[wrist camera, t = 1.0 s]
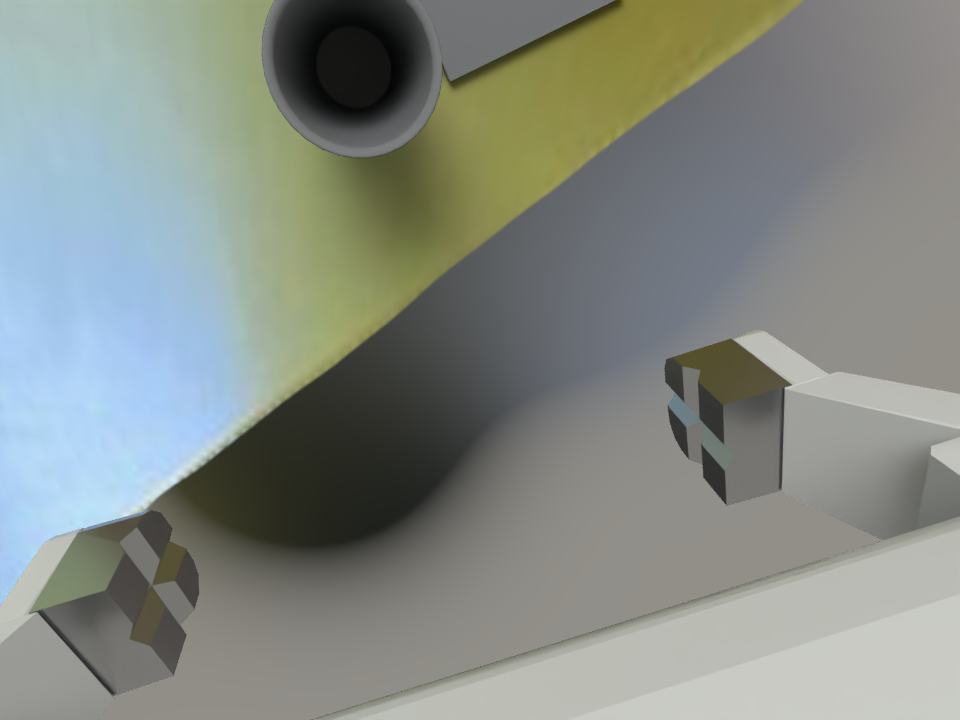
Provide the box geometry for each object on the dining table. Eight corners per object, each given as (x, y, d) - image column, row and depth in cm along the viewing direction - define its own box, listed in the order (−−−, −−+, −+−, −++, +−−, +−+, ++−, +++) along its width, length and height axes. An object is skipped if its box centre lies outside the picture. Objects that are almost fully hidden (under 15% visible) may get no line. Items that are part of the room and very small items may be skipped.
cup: (293, -5, 34) (255, -55, 20) (412, 11, 35) (449, -26, 22) (297, 122, 37) (266, 151, 23) (407, 132, 38) (437, 164, 25)
